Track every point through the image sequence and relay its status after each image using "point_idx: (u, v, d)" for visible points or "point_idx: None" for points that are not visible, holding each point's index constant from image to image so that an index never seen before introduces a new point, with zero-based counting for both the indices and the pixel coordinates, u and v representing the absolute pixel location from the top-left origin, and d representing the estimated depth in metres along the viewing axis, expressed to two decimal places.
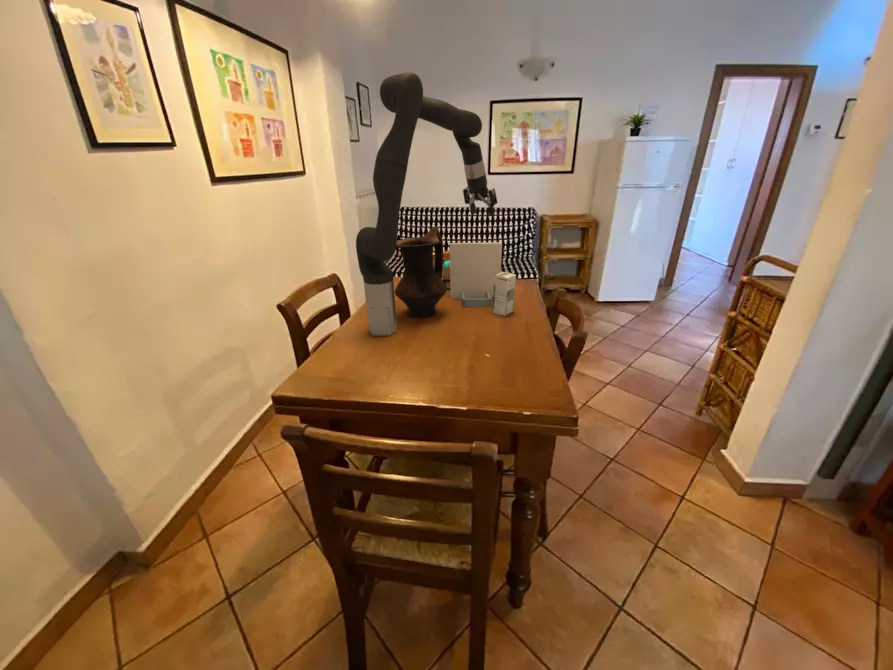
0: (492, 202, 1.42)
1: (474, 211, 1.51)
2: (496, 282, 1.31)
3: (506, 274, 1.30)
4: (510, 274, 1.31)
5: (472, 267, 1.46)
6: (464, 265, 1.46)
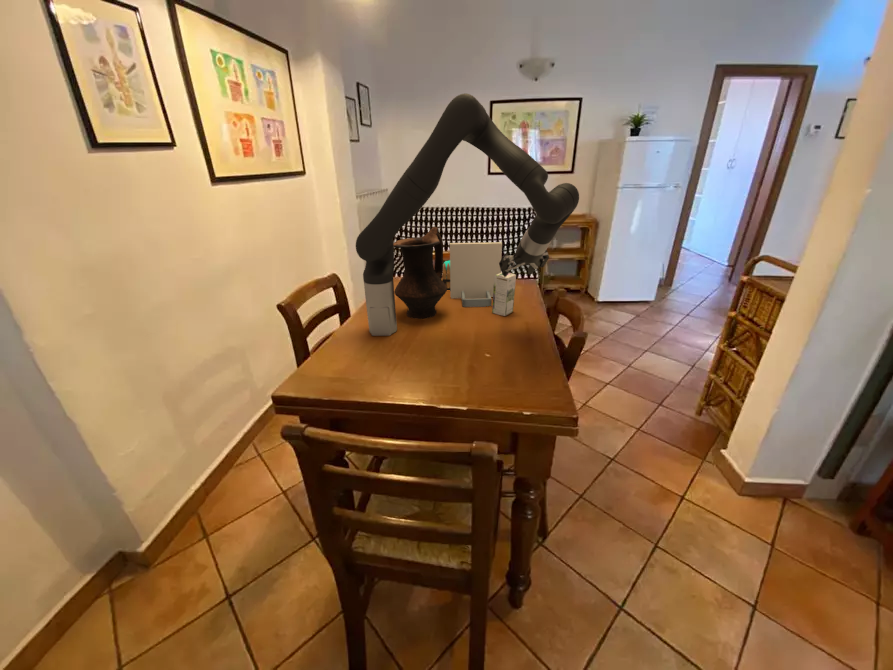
0: None
1: (529, 270, 1.20)
2: (496, 282, 1.31)
3: None
4: (510, 274, 1.31)
5: (472, 267, 1.46)
6: (464, 265, 1.46)
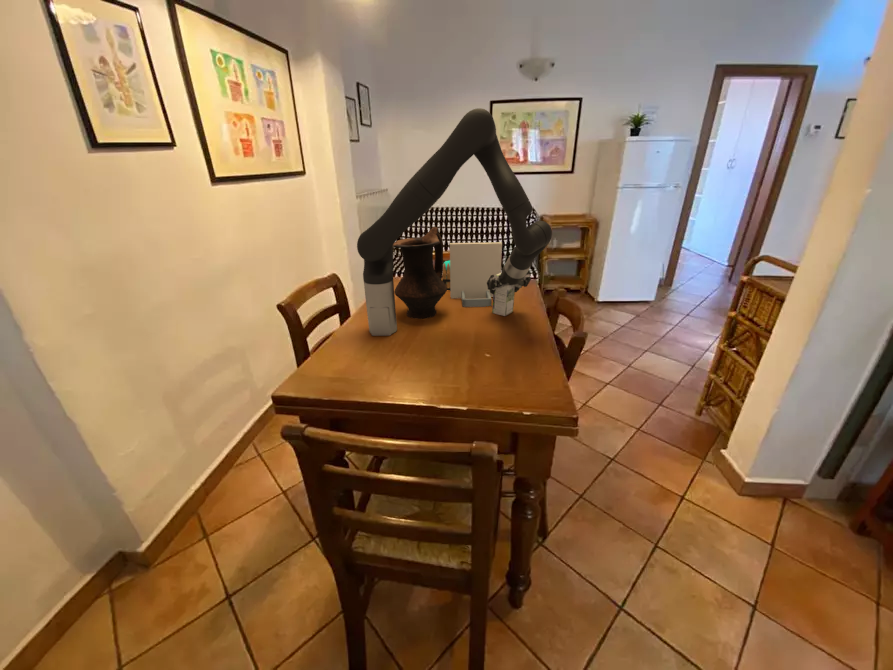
0: None
1: None
2: None
3: None
4: None
5: (472, 267, 1.46)
6: (464, 265, 1.46)
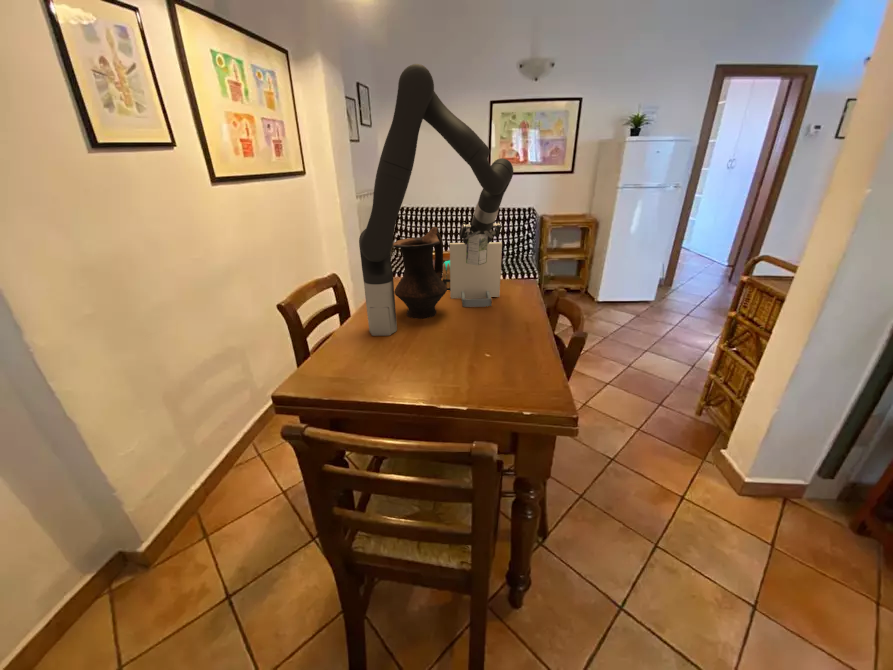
0: None
1: None
2: None
3: None
4: None
5: (472, 267, 1.46)
6: (464, 265, 1.46)
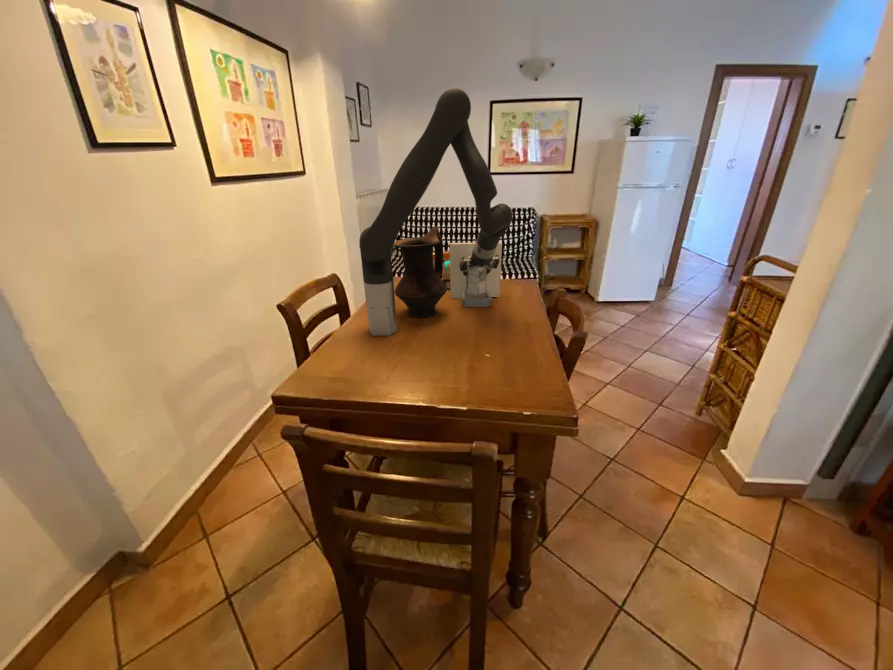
0: None
1: None
2: None
3: None
4: None
5: None
6: None
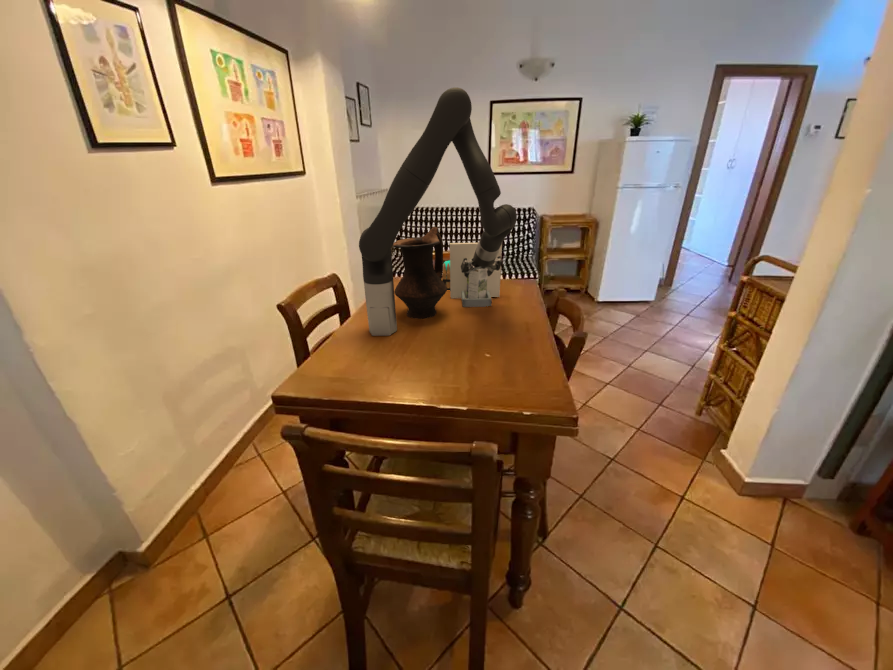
0: None
1: (487, 272, 1.41)
2: (469, 273, 1.42)
3: None
4: None
5: None
6: None
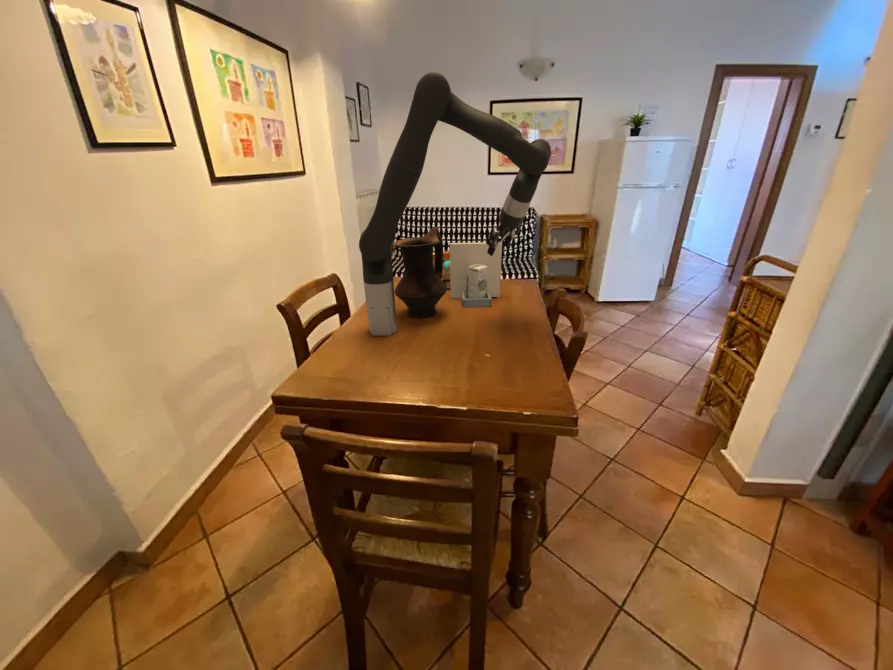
0: None
1: (505, 243, 1.28)
2: (469, 273, 1.41)
3: (478, 266, 1.41)
4: (482, 266, 1.41)
5: None
6: (464, 265, 1.46)
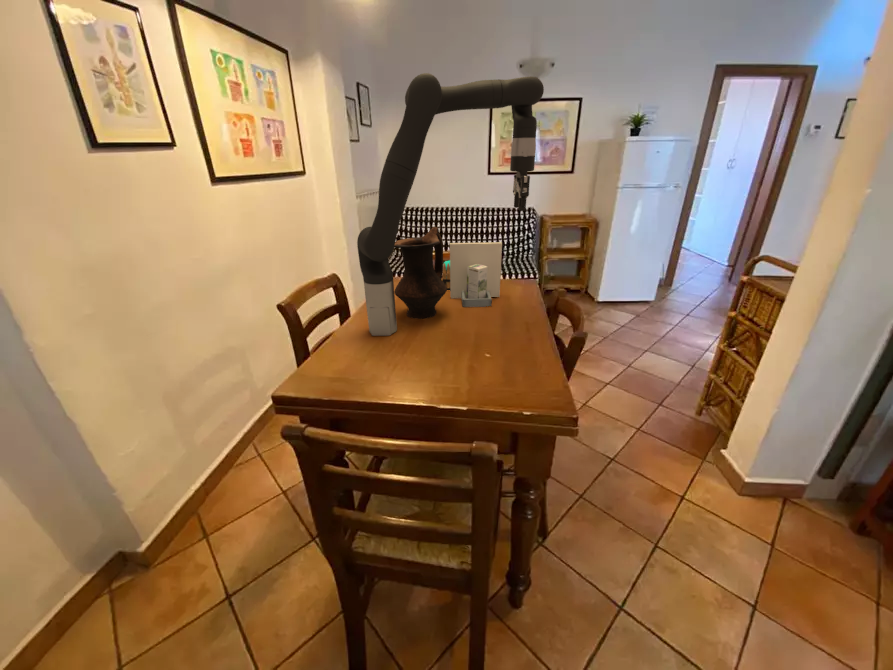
0: (520, 191, 1.15)
1: (517, 204, 1.26)
2: (469, 273, 1.41)
3: (478, 266, 1.41)
4: (482, 266, 1.41)
5: None
6: (464, 265, 1.46)
